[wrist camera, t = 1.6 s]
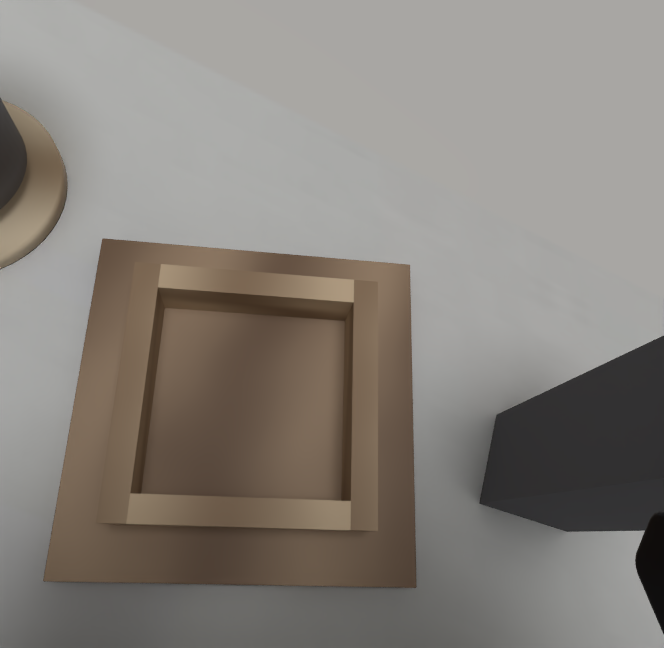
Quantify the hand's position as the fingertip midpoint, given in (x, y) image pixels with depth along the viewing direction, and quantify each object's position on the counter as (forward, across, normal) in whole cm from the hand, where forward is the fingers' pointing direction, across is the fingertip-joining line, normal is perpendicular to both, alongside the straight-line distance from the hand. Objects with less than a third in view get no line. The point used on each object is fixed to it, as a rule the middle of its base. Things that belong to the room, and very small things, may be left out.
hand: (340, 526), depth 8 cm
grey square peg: (+10, -9, +6) cm, 15 cm away
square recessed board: (+12, +1, +5) cm, 13 cm away
